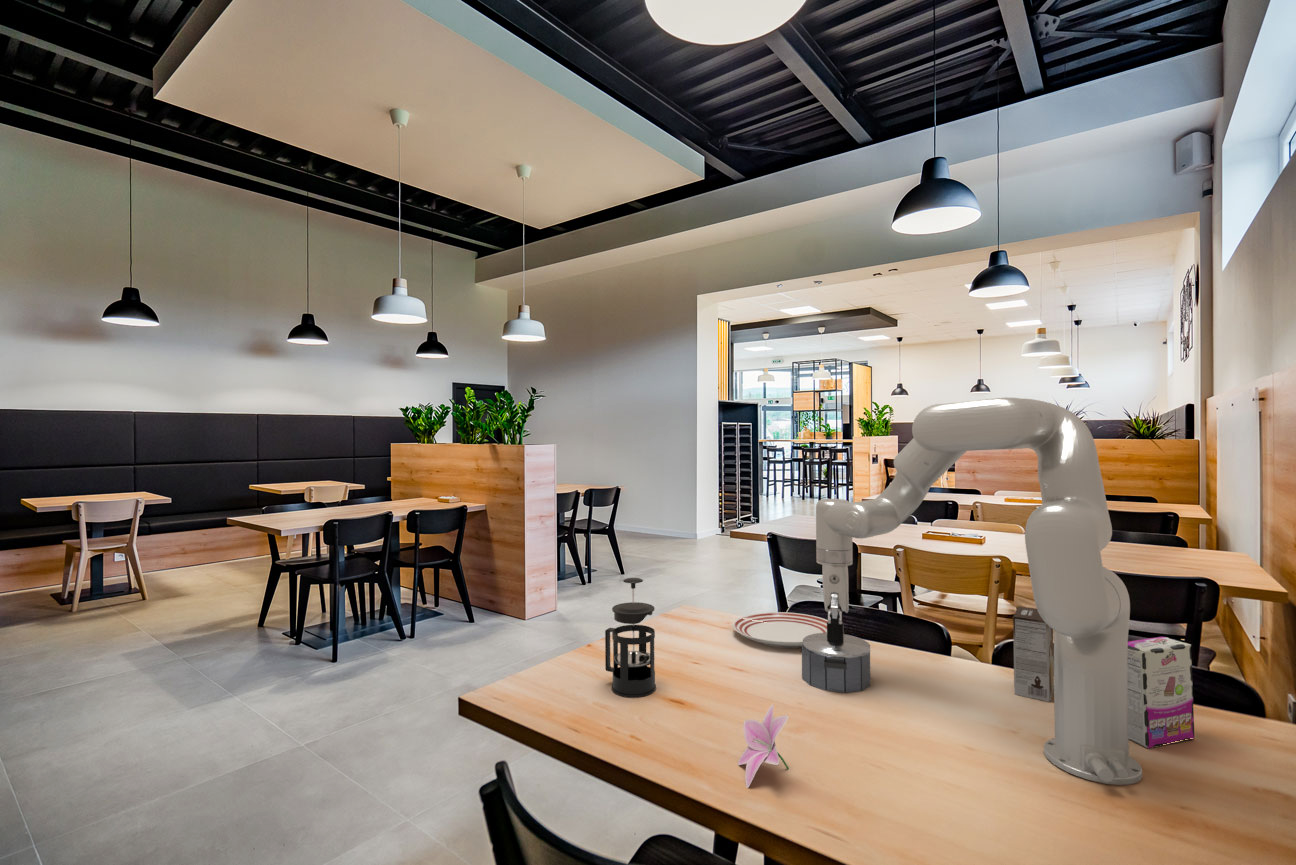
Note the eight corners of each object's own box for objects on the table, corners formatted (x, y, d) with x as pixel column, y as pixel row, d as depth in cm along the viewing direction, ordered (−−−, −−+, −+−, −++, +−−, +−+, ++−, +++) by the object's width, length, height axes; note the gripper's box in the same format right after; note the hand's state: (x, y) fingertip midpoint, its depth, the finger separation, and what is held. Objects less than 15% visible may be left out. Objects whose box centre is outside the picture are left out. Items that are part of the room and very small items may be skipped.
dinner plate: (713, 629, 166) (713, 617, 166) (792, 616, 177) (792, 605, 178) (774, 662, 141) (774, 648, 141) (862, 644, 153) (862, 631, 153)
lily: (748, 751, 103) (723, 706, 101) (813, 735, 99) (788, 688, 97) (743, 813, 92) (715, 764, 90) (817, 798, 88) (788, 746, 86)
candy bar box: (1163, 727, 108) (1162, 635, 108) (1195, 740, 103) (1194, 644, 103) (1116, 735, 105) (1115, 641, 105) (1147, 749, 100) (1145, 650, 100)
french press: (666, 684, 128) (665, 576, 129) (647, 701, 120) (646, 586, 120) (617, 675, 133) (616, 571, 134) (596, 691, 125) (595, 580, 125)
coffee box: (1018, 680, 129) (1017, 605, 129) (1054, 687, 125) (1053, 610, 125) (1013, 695, 122) (1012, 615, 122) (1051, 703, 118) (1050, 621, 118)
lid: (872, 666, 122) (872, 635, 122) (801, 659, 126) (801, 629, 126) (868, 643, 135) (868, 616, 135) (804, 638, 139) (803, 611, 139)
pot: (872, 698, 120) (871, 663, 121) (800, 690, 125) (799, 656, 125) (868, 668, 136) (867, 637, 136) (804, 662, 141) (804, 632, 141)
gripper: (853, 565, 121) (854, 650, 121) (851, 550, 138) (852, 624, 138) (815, 563, 124) (815, 646, 123) (817, 548, 140) (818, 622, 140)
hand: (835, 635), depth 131 cm, fingers open, 9 cm apart
